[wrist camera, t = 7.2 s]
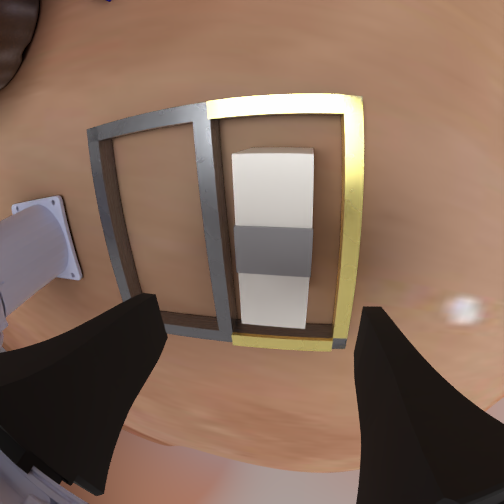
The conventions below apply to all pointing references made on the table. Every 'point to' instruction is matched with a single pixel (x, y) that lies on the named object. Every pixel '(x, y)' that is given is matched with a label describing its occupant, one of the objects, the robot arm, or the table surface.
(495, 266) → the table surface
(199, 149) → the rack
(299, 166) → the white banded pillar
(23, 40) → the plant pot
